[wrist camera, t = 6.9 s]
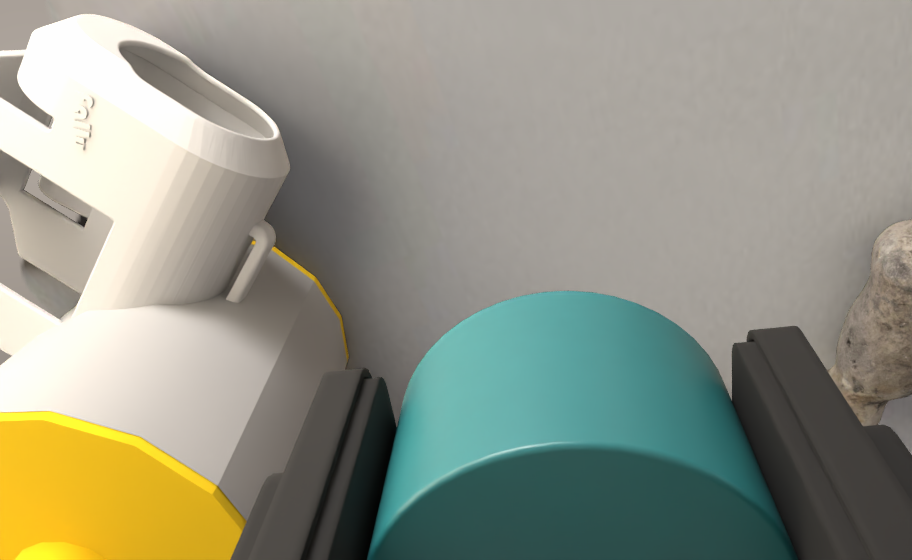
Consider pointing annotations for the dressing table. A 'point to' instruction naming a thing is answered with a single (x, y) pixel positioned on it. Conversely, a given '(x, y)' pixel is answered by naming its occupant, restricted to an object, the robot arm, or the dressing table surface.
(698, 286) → the dressing table surface
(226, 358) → the soap bottle
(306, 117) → the dressing table surface
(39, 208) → the cable organizer
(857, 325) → the stone
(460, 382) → the cylinder
